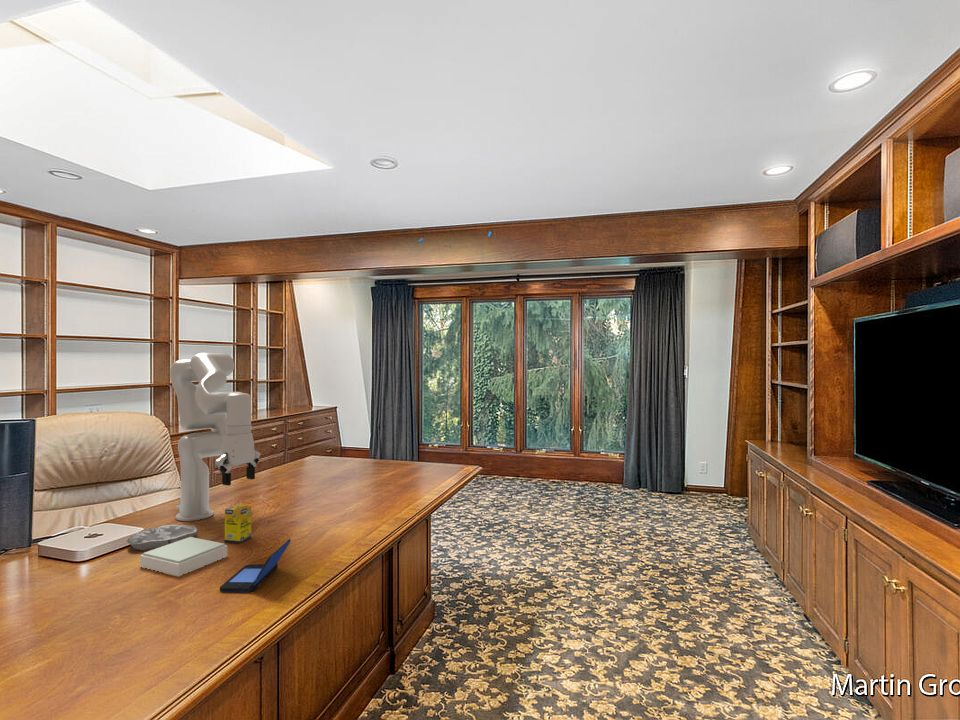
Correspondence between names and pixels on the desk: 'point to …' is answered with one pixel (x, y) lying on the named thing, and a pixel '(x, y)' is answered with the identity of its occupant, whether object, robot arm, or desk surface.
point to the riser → (183, 556)
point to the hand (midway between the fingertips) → (238, 481)
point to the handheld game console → (253, 574)
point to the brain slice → (161, 536)
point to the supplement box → (238, 523)
